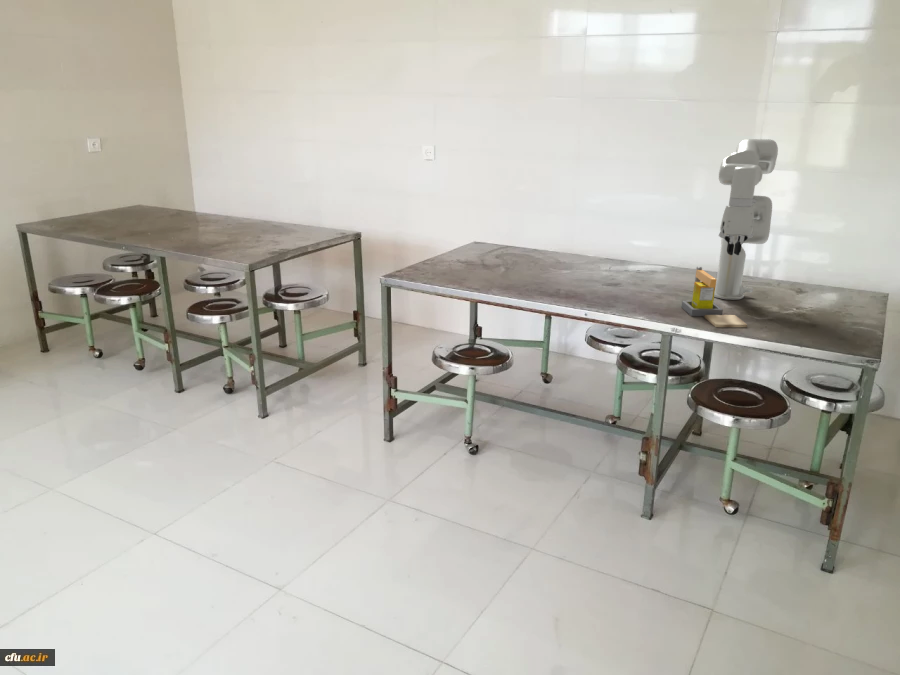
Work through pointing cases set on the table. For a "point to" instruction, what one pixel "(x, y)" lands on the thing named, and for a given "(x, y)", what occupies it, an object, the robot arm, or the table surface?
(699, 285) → the supplement box
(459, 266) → the table surface
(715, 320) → the oak board
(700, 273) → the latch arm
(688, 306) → the socket collar
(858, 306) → the table surface
